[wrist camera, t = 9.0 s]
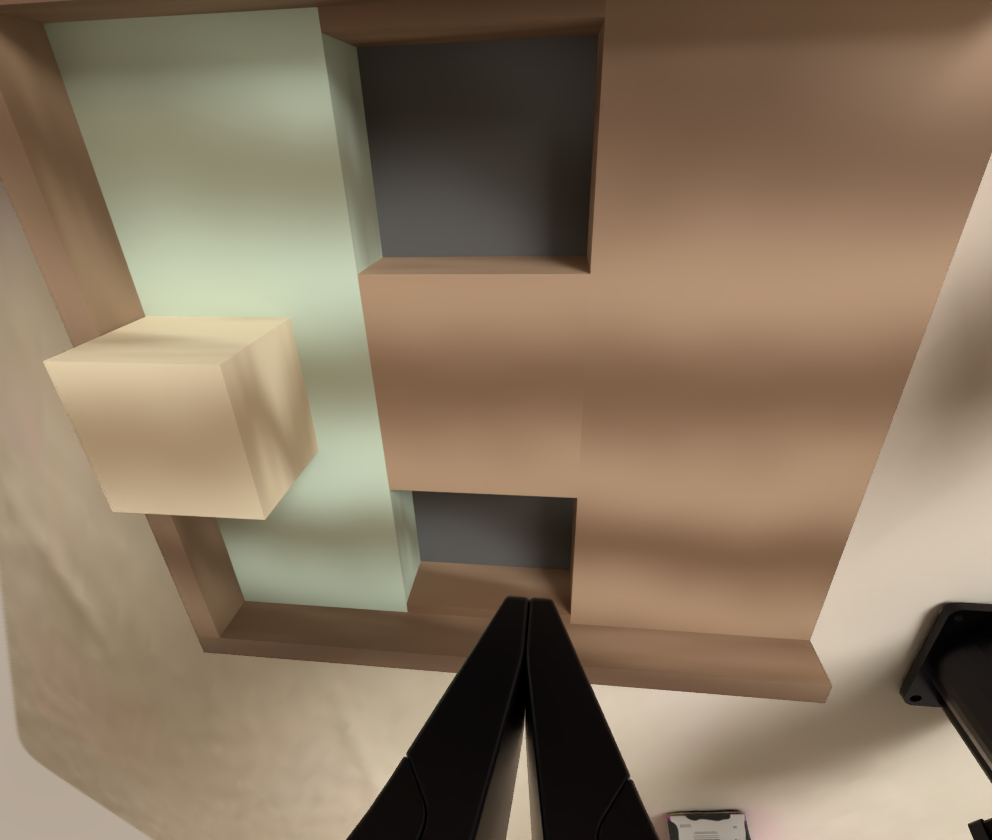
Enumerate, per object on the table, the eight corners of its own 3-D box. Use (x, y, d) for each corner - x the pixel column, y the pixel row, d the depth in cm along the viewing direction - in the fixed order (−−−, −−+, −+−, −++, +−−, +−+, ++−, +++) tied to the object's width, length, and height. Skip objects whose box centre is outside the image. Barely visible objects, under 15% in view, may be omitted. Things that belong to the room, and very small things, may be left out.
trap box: (777, 600, 24) (825, 703, 20) (262, 568, 27) (204, 652, 23) (983, -55, 13) (1188, -147, 9) (83, 2, 16) (-96, -47, 12)
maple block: (318, 450, 19) (264, 520, 16) (191, 445, 20) (112, 511, 16) (290, 317, 17) (219, 364, 13) (146, 315, 17) (42, 361, 14)
